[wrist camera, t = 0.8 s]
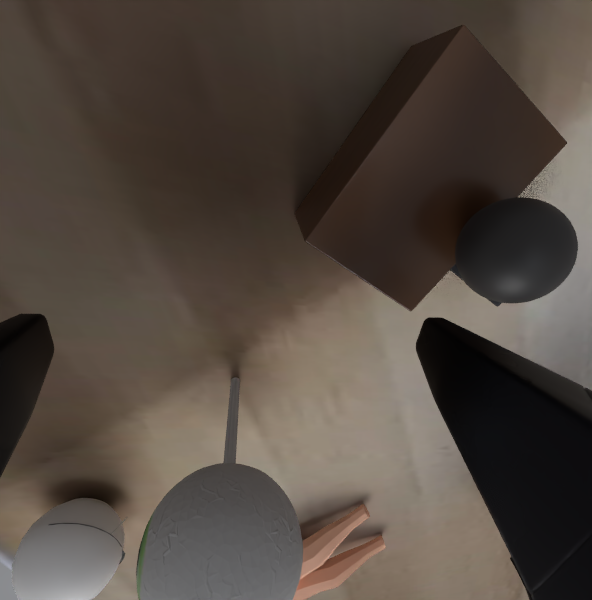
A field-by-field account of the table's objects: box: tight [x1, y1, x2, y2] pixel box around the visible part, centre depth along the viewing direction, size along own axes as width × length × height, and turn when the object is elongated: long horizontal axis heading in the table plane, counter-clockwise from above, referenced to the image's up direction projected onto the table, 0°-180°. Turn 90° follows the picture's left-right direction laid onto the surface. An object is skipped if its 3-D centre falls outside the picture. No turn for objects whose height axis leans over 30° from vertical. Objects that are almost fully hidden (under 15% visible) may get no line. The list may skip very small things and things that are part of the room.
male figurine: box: [293, 504, 386, 600], centre depth 35 cm, size 11×5×25 cm
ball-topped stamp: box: [450, 198, 578, 306], centre depth 18 cm, size 8×4×10 cm, turn 54°
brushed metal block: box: [295, 25, 567, 311], centre depth 18 cm, size 7×10×5 cm
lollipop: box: [136, 377, 303, 600], centre depth 19 cm, size 7×7×15 cm
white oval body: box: [12, 498, 128, 600], centre depth 27 cm, size 10×7×7 cm
